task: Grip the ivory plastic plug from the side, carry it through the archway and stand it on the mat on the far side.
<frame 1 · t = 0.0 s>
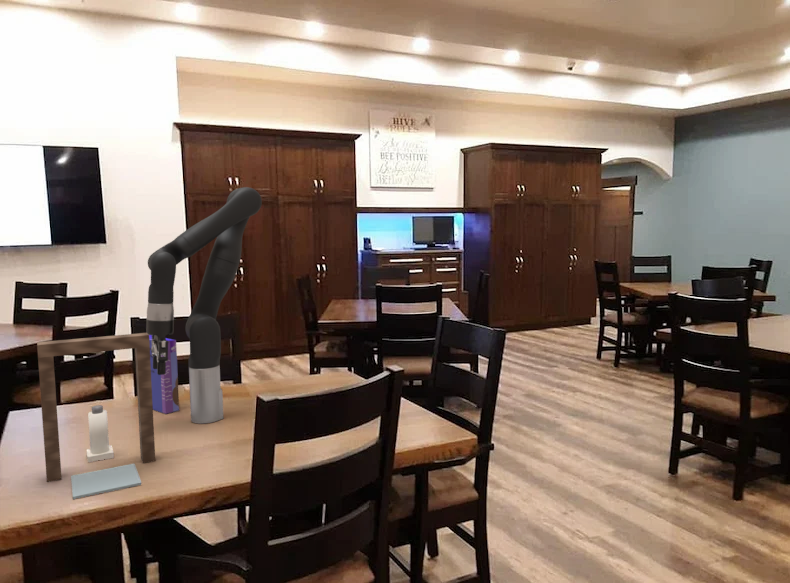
hand: (158, 371, 171), 17 cm above the table, tool pointing down, fingers open, 8 cm apart
archway: (102, 468, 143), on the table
mat: (105, 481, 135), on the table
cereal box: (158, 408, 192), on the table
plug: (100, 456, 150), on the table
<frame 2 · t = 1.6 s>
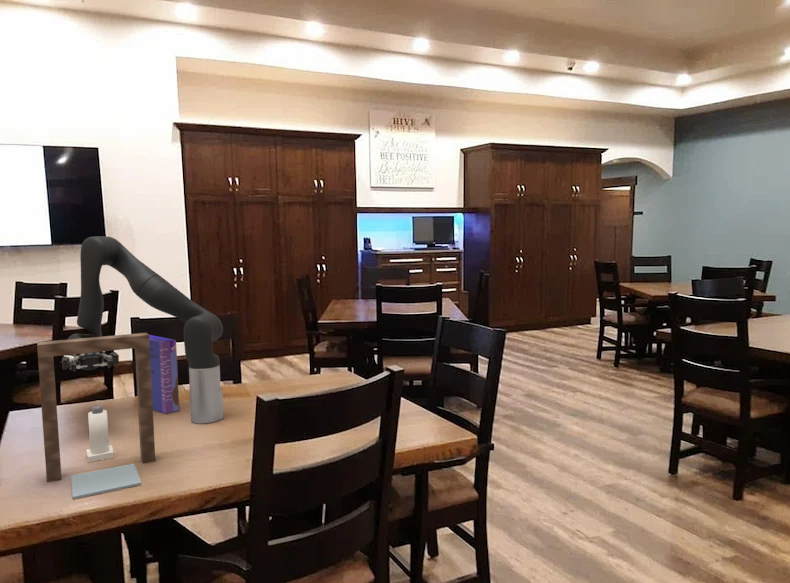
hand: (92, 365, 157), 22 cm above the table, tool horizontal, fingers open, 8 cm apart
nothing on the table moved.
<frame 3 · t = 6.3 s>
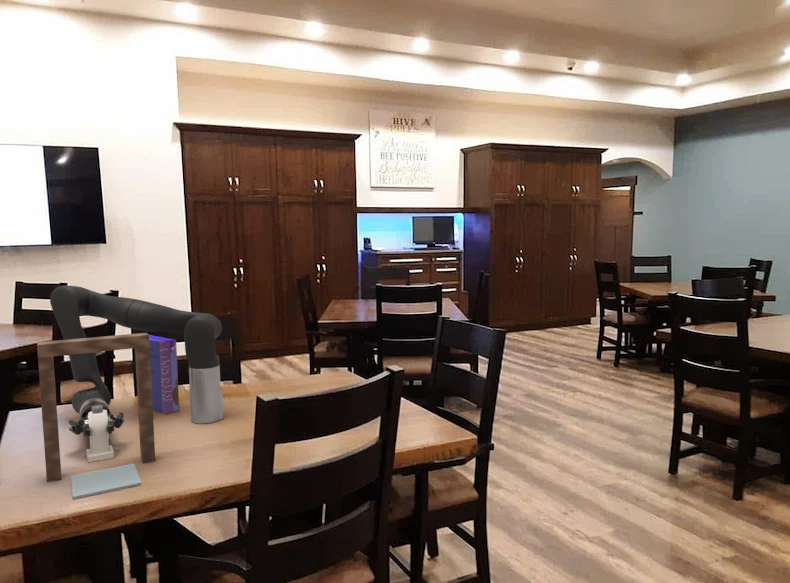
hand: (99, 431, 147), 8 cm above the table, tool horizontal, fingers closed on plug, 4 cm apart
plug: (100, 456, 150), on the table, touching gripper
everything else where it was.
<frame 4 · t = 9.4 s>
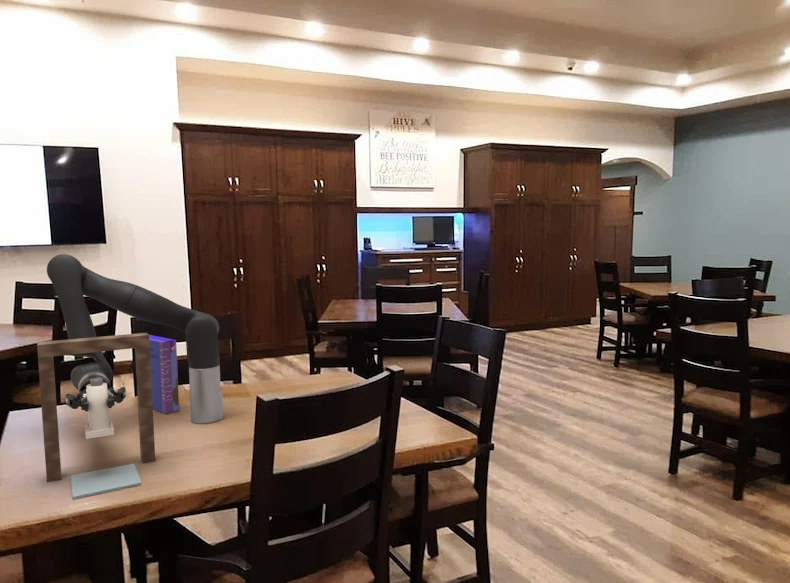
hand: (98, 405, 135), 18 cm above the table, tool horizontal, fingers closed on plug, 4 cm apart
plug: (99, 432, 138), point 10 cm above the table, touching gripper
everything else where it was.
when the fingers open (8 cm above the table, at t = 12.9 s): plug stays where it is, resting on mat.
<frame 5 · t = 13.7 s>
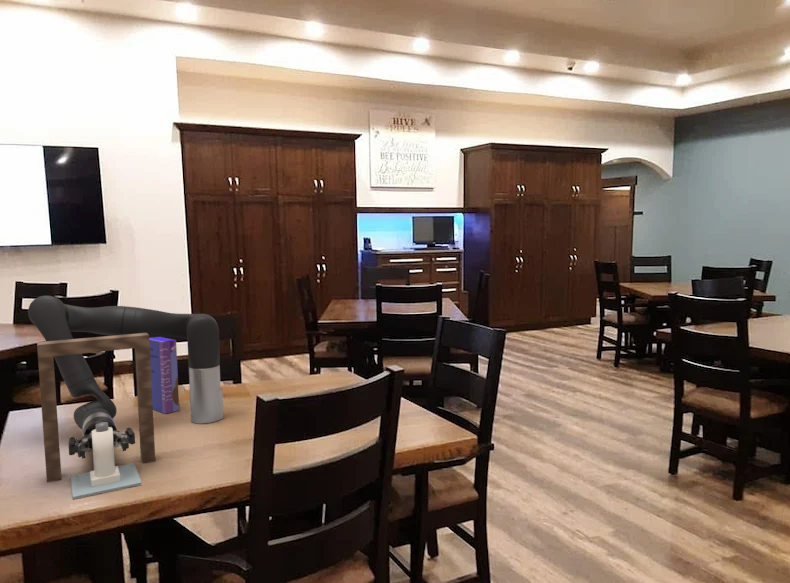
hand: (104, 450, 133), 8 cm above the table, tool horizontal, fingers open, 8 cm apart
plug: (105, 479, 135), point 1 cm above the table, touching mat
everything else where it was.
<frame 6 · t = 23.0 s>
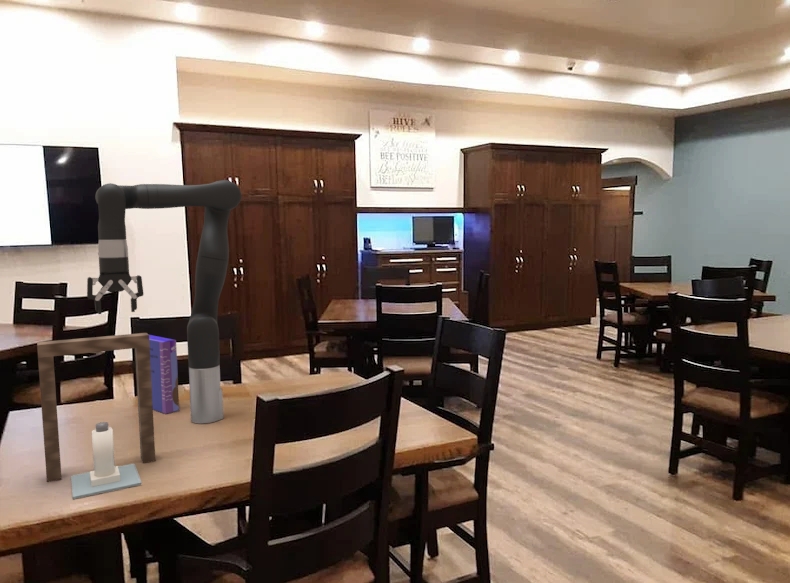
hand: (116, 312, 162), 36 cm above the table, tool pointing down, fingers open, 8 cm apart
nothing on the table moved.
at the end: plug inside the target area on the mat (0.1 cm from its centre), point 0.6 cm above the mat's base; plug tilted 0°; the gripper is holding nothing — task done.
